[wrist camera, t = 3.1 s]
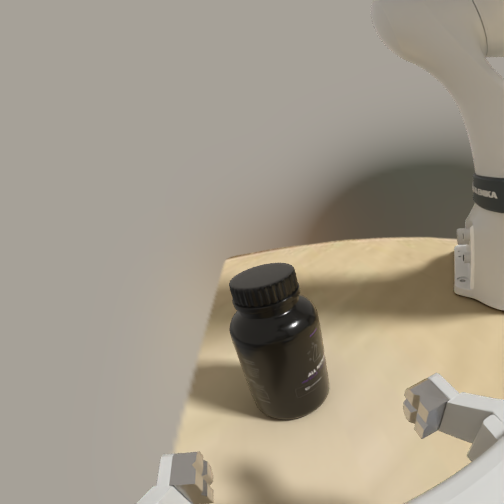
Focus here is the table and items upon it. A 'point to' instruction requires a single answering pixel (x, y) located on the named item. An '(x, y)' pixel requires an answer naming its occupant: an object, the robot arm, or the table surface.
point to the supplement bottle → (278, 341)
